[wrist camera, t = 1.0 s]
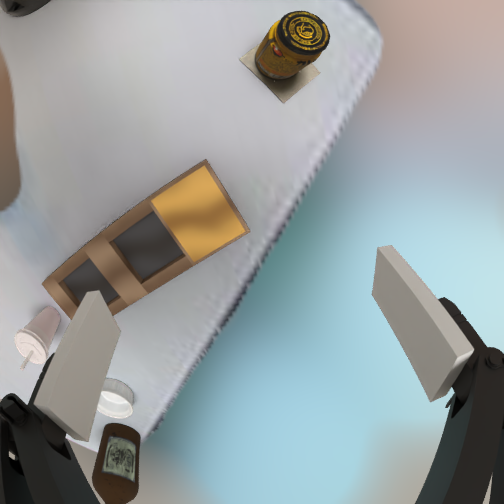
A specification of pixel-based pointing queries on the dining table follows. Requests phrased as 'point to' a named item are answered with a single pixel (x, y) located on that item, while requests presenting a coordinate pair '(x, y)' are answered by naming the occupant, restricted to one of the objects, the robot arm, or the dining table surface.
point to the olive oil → (117, 464)
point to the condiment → (289, 53)
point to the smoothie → (37, 336)
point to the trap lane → (151, 243)
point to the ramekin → (115, 399)
